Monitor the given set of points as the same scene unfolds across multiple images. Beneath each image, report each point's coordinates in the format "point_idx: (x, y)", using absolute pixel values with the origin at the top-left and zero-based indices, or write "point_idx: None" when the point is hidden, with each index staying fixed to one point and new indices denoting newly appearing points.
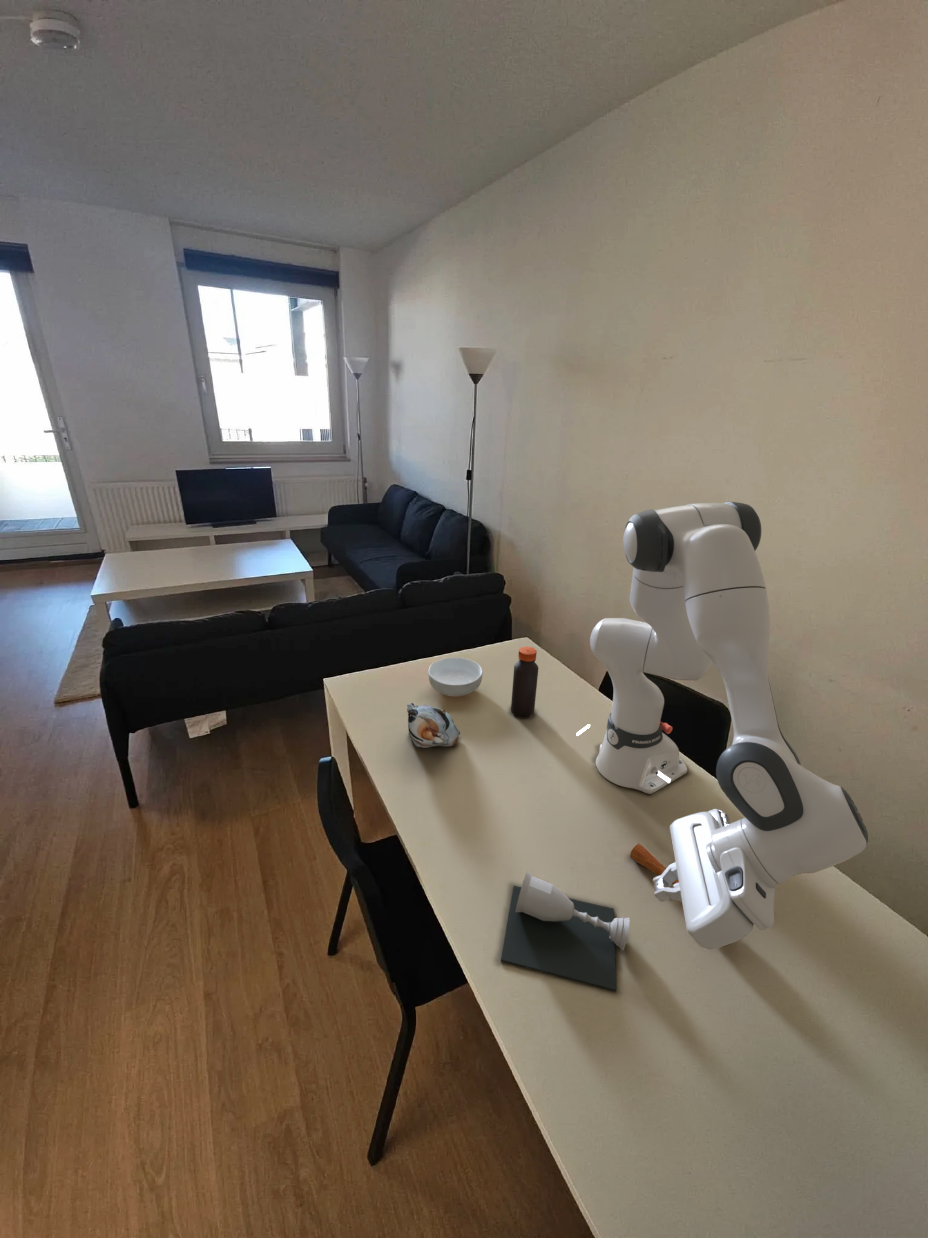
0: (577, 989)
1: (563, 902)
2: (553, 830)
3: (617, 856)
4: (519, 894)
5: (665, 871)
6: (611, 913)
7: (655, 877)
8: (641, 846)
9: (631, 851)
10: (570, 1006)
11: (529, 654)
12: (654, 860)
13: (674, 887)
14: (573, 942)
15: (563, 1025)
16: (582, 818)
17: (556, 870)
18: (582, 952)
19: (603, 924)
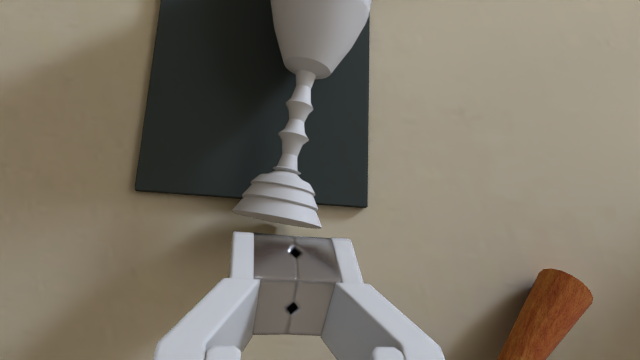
0: (128, 97)
1: (309, 23)
2: (557, 74)
3: (533, 237)
4: None
5: (381, 306)
6: (351, 199)
7: (351, 248)
8: (584, 301)
9: (558, 270)
10: (83, 77)
11: None
12: (547, 339)
13: (205, 350)
14: (246, 93)
15: (33, 57)
16: (621, 152)
17: (442, 72)
18: (224, 113)
19: (287, 153)
